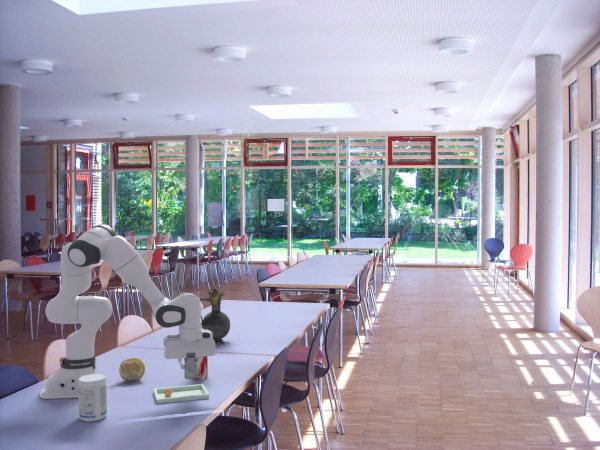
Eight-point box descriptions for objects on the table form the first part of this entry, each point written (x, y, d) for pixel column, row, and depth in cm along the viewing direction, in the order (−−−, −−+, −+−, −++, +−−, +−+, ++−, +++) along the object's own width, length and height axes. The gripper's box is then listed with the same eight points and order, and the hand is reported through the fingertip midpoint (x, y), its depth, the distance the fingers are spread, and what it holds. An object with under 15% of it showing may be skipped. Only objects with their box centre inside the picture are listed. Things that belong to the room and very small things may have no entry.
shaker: (184, 379, 234) (184, 354, 233) (183, 376, 238) (183, 351, 238) (197, 378, 235) (197, 353, 235) (195, 375, 240) (195, 350, 240)
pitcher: (227, 344, 326) (226, 289, 324) (193, 343, 328) (193, 289, 327) (232, 340, 336) (232, 287, 335) (199, 338, 339) (199, 286, 338)
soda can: (192, 382, 257) (191, 352, 256) (190, 377, 263) (190, 348, 263) (208, 381, 258) (208, 351, 258) (206, 376, 265) (206, 347, 265)
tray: (156, 406, 227) (156, 399, 227) (153, 394, 240) (153, 388, 240) (209, 400, 233) (209, 394, 233) (203, 389, 246) (203, 383, 246)
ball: (164, 398, 233) (164, 390, 233) (163, 395, 236) (163, 387, 236) (172, 397, 234) (172, 389, 234) (171, 394, 237) (171, 386, 237)
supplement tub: (98, 411, 221) (98, 371, 221) (112, 417, 215) (111, 377, 214) (73, 417, 214) (73, 377, 214) (86, 424, 208) (86, 383, 207)
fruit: (118, 379, 261) (118, 356, 261) (143, 376, 265) (143, 354, 265) (120, 385, 252) (120, 362, 251) (146, 383, 256) (146, 360, 255)
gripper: (164, 337, 230) (164, 372, 231) (216, 333, 236) (216, 368, 237) (162, 333, 236) (162, 368, 237) (213, 330, 242) (214, 364, 243)
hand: (190, 368), depth 237 cm, fingers closed on shaker, 5 cm apart
